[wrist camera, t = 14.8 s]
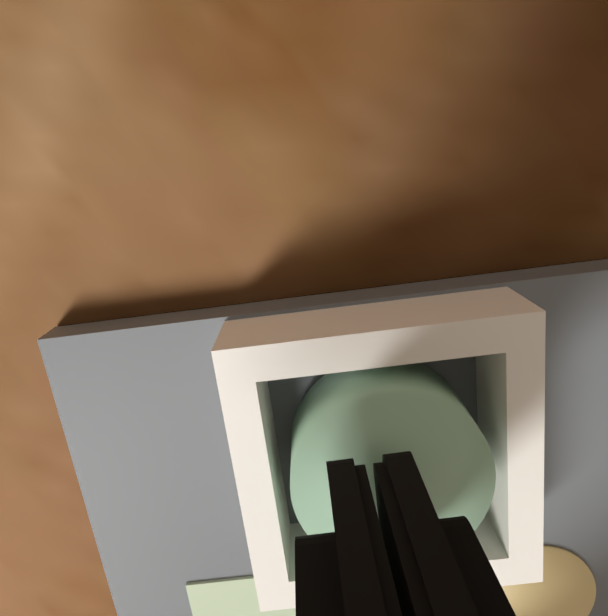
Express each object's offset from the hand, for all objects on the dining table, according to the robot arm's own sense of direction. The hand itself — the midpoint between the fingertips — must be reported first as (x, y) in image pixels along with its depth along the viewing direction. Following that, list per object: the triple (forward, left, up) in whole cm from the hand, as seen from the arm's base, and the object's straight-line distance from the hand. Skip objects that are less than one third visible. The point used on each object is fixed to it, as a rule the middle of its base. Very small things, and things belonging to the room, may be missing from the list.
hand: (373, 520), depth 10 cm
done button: (+1, 0, -3) cm, 3 cm away
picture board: (+1, -7, -4) cm, 9 cm away
